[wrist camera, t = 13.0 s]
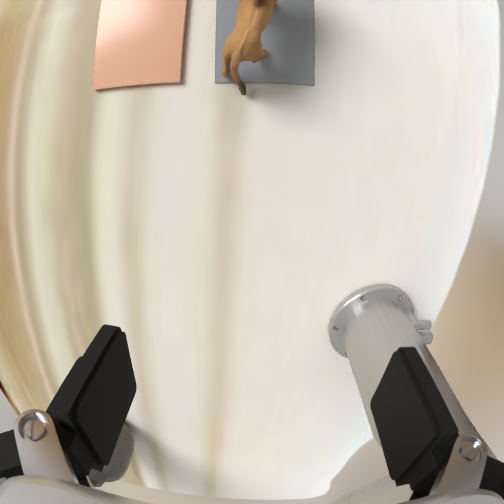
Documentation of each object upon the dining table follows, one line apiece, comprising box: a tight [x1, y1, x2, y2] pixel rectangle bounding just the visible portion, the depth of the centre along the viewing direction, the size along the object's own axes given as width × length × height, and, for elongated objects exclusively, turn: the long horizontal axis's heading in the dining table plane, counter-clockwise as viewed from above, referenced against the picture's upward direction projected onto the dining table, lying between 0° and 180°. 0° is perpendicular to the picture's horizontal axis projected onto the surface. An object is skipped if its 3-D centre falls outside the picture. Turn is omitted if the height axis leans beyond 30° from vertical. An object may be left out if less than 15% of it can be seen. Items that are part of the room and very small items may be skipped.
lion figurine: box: [222, 0, 278, 95], centre depth 21 cm, size 15×5×9 cm, turn 176°
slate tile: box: [215, 0, 314, 85], centre depth 25 cm, size 10×16×1 cm, turn 179°
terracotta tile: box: [93, 0, 188, 90], centre depth 24 cm, size 10×16×1 cm, turn 177°
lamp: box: [88, 423, 134, 492], centre depth 36 cm, size 21×21×37 cm
